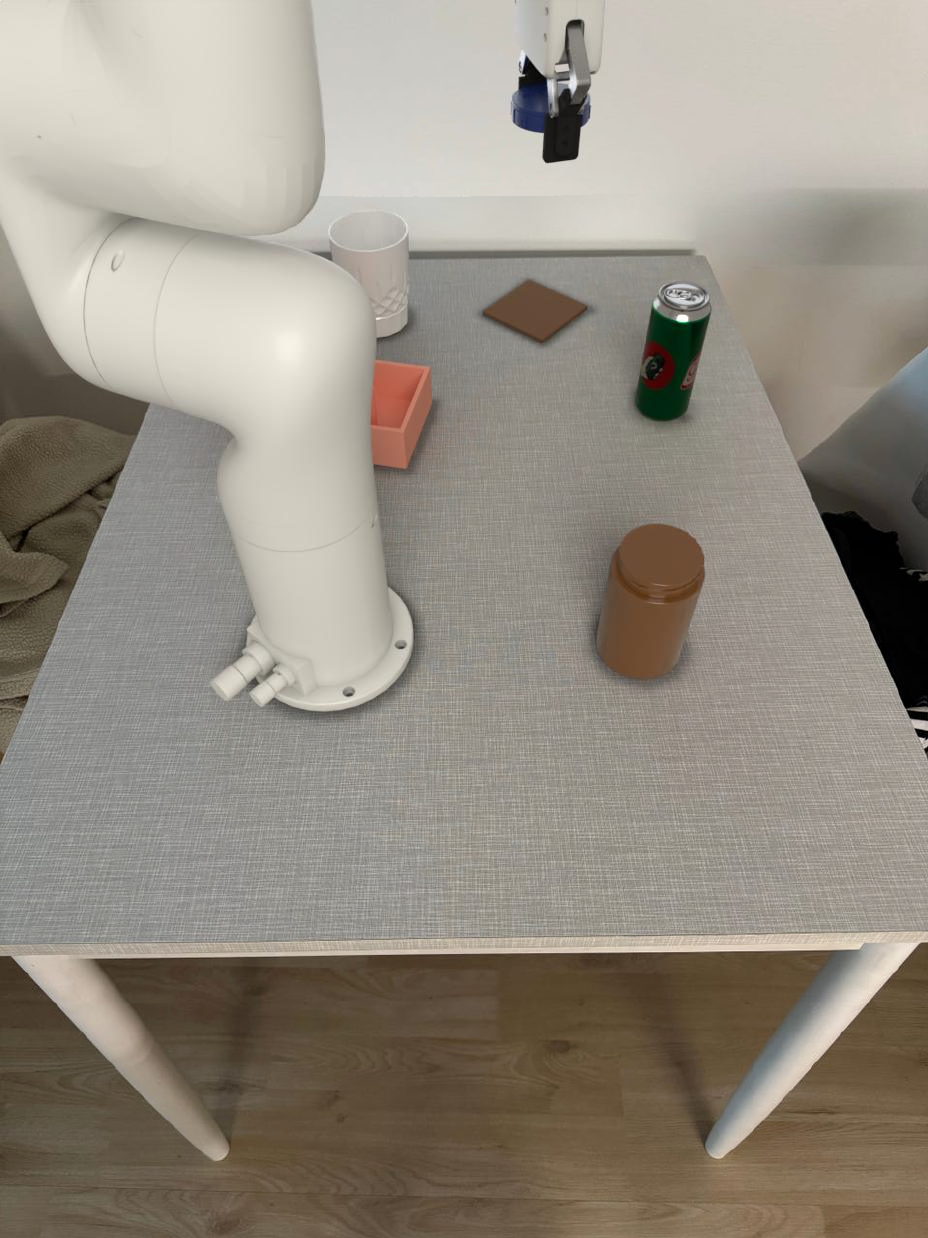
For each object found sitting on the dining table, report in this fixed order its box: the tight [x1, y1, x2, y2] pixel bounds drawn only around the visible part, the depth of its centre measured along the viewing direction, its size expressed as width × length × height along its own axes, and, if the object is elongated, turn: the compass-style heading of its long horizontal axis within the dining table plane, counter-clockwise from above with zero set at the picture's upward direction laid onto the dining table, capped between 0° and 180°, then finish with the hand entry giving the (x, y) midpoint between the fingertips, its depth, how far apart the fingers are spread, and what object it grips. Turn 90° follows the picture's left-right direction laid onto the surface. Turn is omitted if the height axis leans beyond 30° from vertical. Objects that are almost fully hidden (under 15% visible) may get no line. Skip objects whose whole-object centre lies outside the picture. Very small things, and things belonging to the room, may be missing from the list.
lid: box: [510, 82, 592, 134], centre depth 78 cm, size 7×7×2 cm
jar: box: [595, 523, 706, 680], centre depth 63 cm, size 6×6×10 cm
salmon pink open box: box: [370, 359, 433, 470], centre depth 79 cm, size 18×10×10 cm, turn 77°
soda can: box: [634, 280, 713, 422], centre depth 79 cm, size 5×5×12 cm
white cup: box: [327, 209, 410, 339], centre depth 89 cm, size 8×8×10 cm
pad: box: [482, 279, 588, 344], centre depth 94 cm, size 8×8×1 cm
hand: (546, 138), depth 80 cm, fingers closed on lid, 7 cm apart
